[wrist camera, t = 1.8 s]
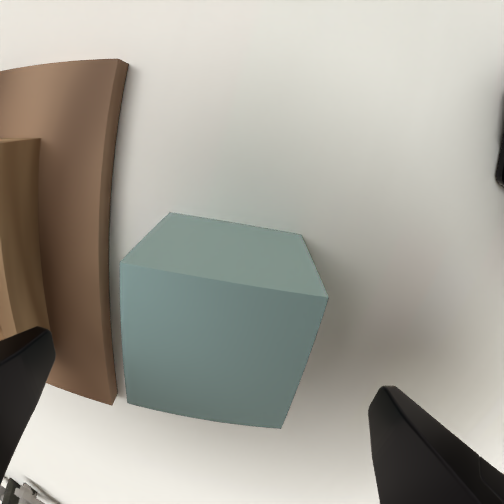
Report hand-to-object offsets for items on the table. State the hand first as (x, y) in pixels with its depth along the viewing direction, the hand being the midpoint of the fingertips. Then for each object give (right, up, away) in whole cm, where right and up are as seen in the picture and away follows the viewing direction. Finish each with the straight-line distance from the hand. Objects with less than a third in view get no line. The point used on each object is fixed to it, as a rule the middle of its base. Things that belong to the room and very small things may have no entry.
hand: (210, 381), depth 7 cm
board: (-13, +4, +5) cm, 14 cm away
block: (0, +2, +5) cm, 6 cm away
